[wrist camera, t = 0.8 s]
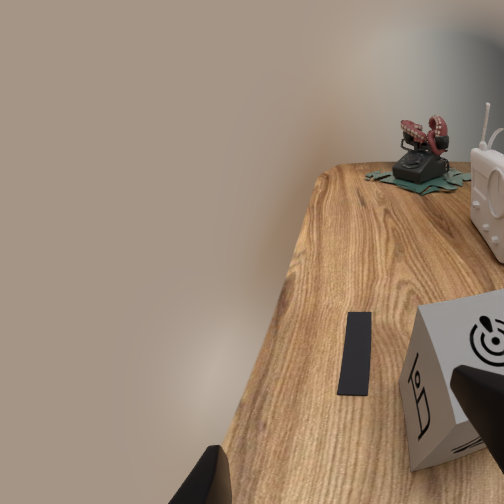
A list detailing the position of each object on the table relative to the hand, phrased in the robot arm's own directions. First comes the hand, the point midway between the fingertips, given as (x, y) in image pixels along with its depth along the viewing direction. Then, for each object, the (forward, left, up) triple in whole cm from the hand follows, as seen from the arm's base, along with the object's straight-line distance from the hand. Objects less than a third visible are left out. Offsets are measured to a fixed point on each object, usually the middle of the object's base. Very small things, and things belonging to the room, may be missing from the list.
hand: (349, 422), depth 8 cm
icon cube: (0, -13, -15) cm, 20 cm away
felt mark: (+13, -10, -15) cm, 22 cm away
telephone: (+52, -70, -15) cm, 88 cm away
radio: (+15, -47, -15) cm, 51 cm away
